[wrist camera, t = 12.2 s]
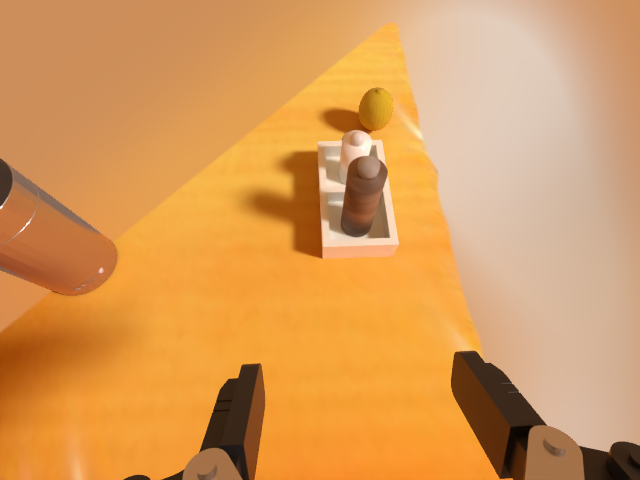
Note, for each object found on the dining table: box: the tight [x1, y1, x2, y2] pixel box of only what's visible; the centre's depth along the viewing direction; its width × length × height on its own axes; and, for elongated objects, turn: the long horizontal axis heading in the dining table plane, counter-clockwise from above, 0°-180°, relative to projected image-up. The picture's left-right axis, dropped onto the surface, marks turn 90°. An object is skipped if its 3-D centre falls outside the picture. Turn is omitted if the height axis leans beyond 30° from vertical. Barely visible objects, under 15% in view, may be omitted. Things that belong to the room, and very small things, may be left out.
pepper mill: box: [341, 156, 388, 237], centre depth 40 cm, size 4×4×13 cm
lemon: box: [359, 88, 393, 131], centre depth 53 cm, size 6×6×8 cm
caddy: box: [318, 140, 399, 259], centre depth 48 cm, size 18×10×4 cm, turn 2°
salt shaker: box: [338, 130, 372, 185], centre depth 46 cm, size 4×4×9 cm
